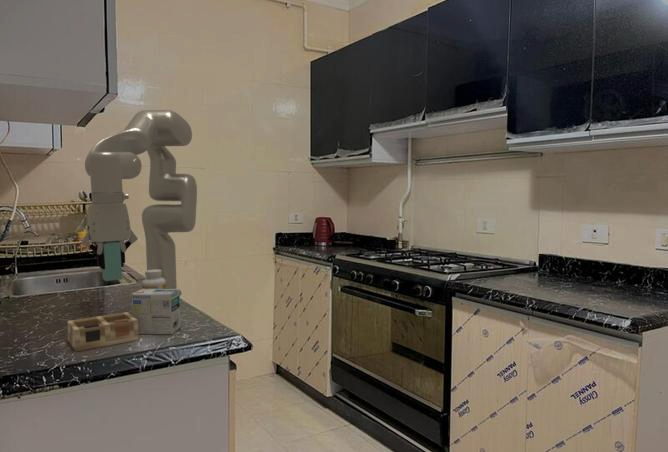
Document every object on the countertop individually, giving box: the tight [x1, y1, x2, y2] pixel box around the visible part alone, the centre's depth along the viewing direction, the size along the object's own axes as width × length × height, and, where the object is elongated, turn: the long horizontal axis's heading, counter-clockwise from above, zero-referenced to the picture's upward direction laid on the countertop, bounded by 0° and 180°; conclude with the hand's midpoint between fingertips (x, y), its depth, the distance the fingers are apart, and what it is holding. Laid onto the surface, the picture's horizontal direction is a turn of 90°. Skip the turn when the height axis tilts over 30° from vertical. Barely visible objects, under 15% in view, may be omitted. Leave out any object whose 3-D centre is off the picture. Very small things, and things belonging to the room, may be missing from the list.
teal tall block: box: [101, 241, 123, 282], centre depth 132 cm, size 4×4×11 cm
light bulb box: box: [131, 288, 182, 335], centre depth 130 cm, size 11×7×11 cm, turn 89°
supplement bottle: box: [141, 269, 166, 289], centre depth 148 cm, size 7×7×13 cm
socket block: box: [66, 311, 139, 352], centre depth 122 cm, size 10×14×5 cm
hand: (111, 266), depth 132 cm, fingers closed on teal tall block, 4 cm apart
